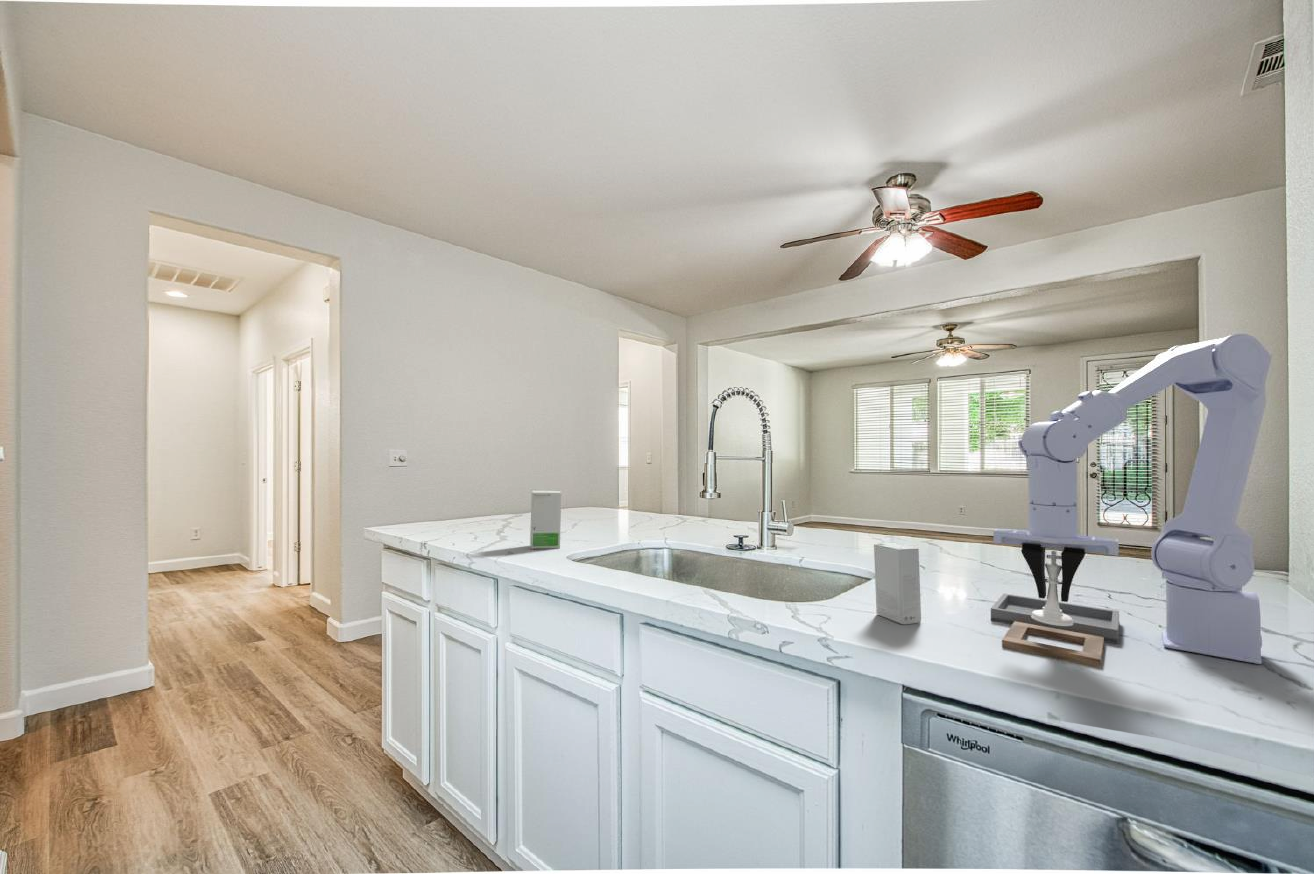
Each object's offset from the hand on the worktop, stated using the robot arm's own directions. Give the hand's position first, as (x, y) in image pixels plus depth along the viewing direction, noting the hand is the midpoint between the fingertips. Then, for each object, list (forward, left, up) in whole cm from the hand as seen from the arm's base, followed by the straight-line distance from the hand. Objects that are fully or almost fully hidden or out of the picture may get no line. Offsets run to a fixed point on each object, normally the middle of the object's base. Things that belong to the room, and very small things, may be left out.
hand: (1053, 598), depth 79 cm
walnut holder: (0, 0, -7) cm, 7 cm away
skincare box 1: (+116, +1, -7) cm, 116 cm away
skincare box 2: (+21, +2, -7) cm, 22 cm away
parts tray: (+1, -13, -7) cm, 15 cm away
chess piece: (0, 0, -3) cm, 3 cm away
